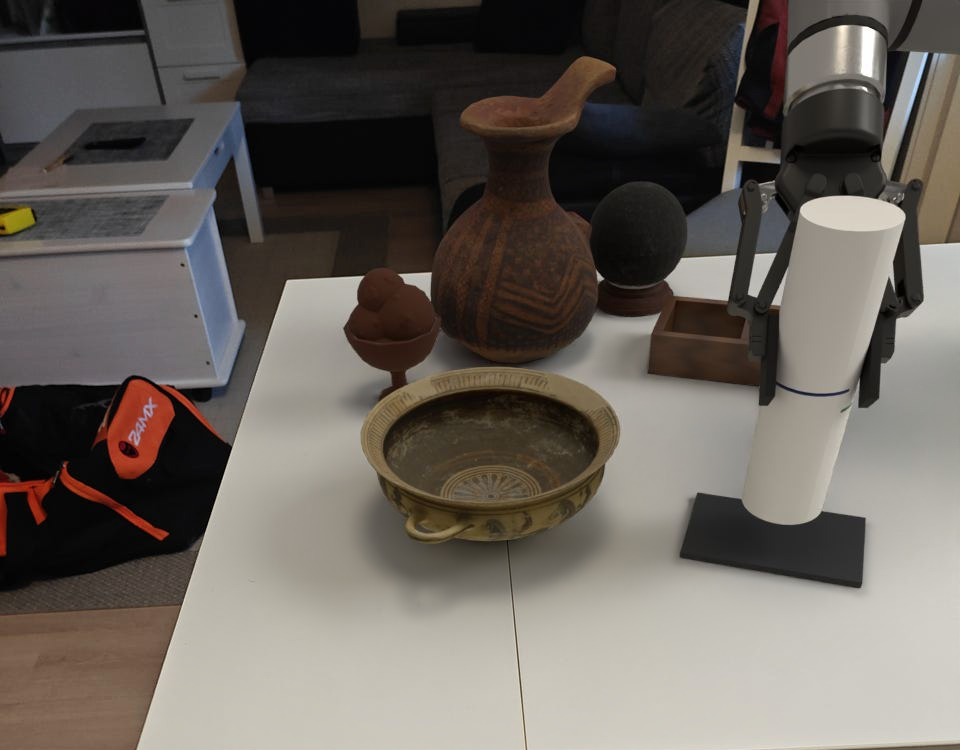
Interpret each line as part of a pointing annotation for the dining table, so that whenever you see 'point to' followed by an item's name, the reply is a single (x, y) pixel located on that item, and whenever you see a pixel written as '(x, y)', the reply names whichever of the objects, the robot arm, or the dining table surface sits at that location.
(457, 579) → the dining table surface
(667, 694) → the dining table surface
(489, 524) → the ceramic bowl
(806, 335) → the cylindrical container
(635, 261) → the black ball on stand
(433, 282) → the jug
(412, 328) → the ice cream bowl
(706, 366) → the wooden compartment box
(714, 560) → the mat
